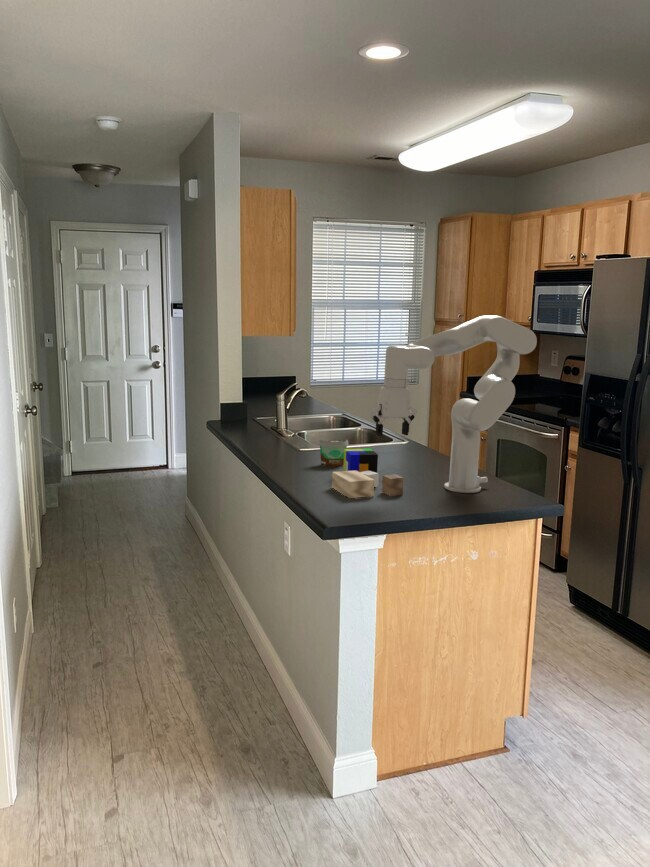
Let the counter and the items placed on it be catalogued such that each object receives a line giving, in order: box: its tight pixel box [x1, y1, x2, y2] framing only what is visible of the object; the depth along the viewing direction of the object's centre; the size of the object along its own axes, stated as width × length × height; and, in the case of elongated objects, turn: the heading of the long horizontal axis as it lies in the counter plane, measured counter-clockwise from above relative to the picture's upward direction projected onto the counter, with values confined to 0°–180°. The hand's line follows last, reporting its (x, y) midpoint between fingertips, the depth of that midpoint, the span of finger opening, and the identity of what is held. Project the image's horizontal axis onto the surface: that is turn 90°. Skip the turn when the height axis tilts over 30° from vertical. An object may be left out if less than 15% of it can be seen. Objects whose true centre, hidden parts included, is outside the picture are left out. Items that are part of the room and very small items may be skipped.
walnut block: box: [381, 473, 404, 497], centre depth 239 cm, size 5×5×6 cm
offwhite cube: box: [360, 471, 380, 488], centre depth 248 cm, size 5×5×5 cm
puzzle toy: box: [342, 448, 379, 473], centre depth 258 cm, size 10×10×10 cm
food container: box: [318, 438, 349, 468], centre depth 277 cm, size 12×6×10 cm, turn 112°
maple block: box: [331, 470, 375, 499], centre depth 239 cm, size 9×14×6 cm, turn 23°
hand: (392, 435), depth 237 cm, fingers open, 9 cm apart
